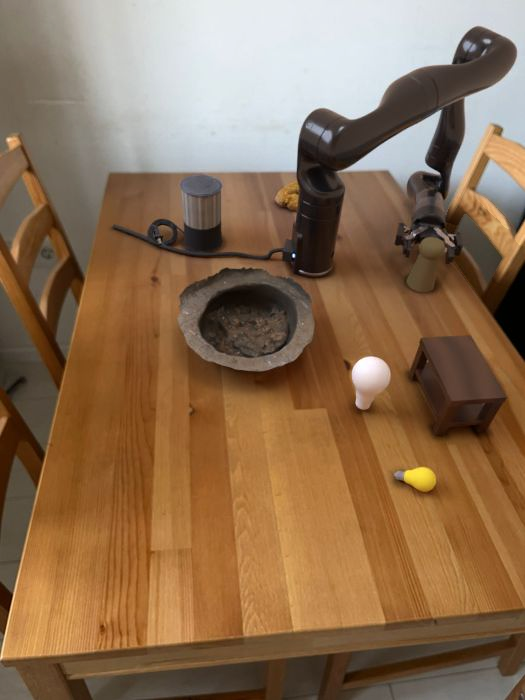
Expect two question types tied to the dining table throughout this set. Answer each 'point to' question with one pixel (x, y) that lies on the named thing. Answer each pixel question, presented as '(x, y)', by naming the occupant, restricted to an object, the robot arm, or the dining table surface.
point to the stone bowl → (246, 319)
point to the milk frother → (195, 216)
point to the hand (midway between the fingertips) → (428, 257)
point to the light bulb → (418, 478)
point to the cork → (426, 265)
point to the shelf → (457, 382)
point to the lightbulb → (369, 380)
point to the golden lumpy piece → (288, 196)
